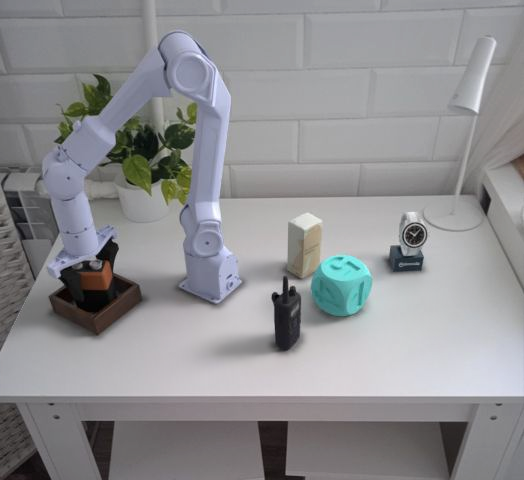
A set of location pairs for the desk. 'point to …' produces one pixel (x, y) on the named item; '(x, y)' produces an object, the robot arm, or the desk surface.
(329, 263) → the decorative dice
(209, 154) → the robot arm
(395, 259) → the watch
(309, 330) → the desk surface
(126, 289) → the brown square open frame
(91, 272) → the battery
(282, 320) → the two-way radio
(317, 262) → the box
